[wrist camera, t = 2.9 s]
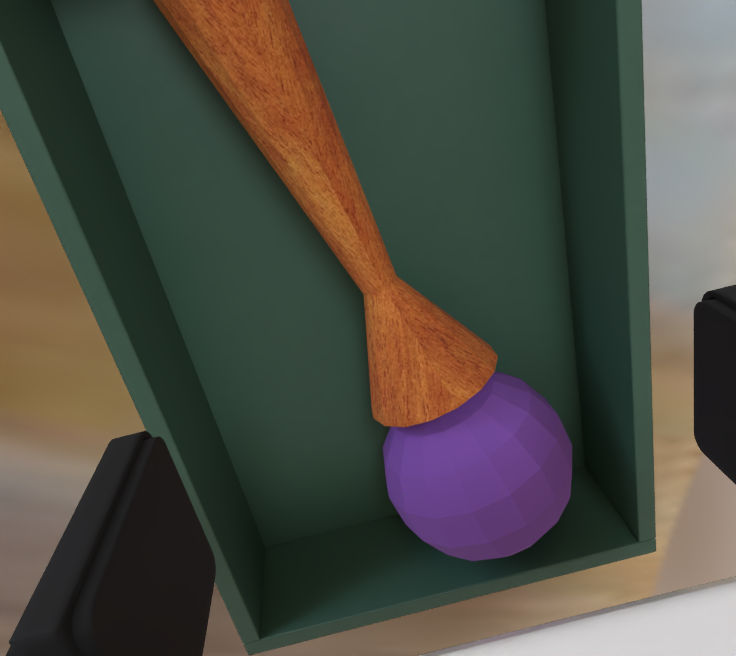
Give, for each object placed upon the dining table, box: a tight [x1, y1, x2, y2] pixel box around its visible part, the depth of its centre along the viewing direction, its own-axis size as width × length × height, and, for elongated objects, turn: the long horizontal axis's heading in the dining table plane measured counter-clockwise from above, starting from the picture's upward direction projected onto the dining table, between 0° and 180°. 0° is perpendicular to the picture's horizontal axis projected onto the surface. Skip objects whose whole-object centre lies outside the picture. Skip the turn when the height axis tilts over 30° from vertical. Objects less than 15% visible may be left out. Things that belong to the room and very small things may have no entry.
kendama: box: [153, 0, 572, 561], centre depth 17 cm, size 6×6×20 cm
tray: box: [0, 0, 656, 655], centre depth 18 cm, size 23×14×5 cm, turn 12°
